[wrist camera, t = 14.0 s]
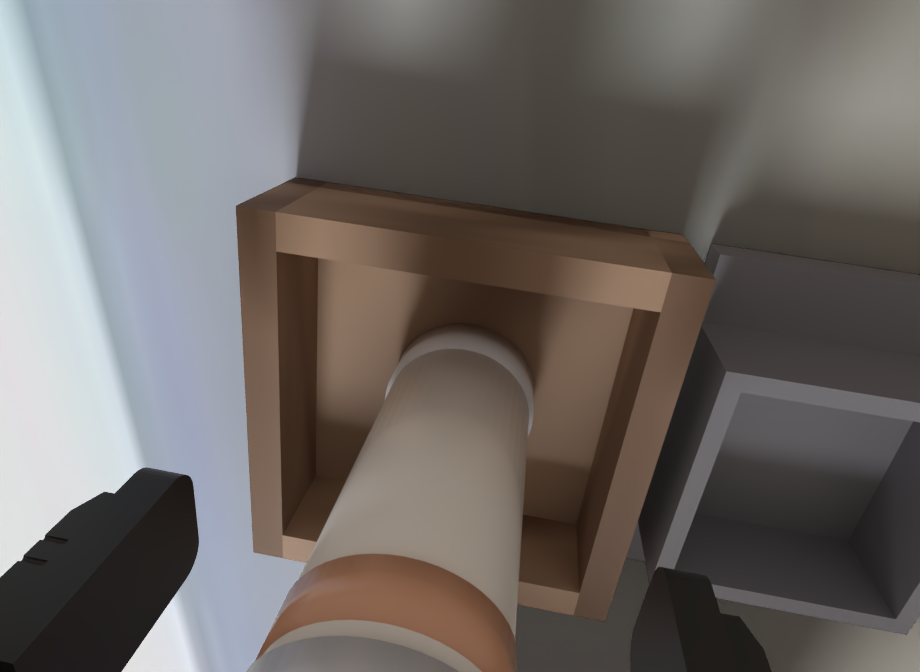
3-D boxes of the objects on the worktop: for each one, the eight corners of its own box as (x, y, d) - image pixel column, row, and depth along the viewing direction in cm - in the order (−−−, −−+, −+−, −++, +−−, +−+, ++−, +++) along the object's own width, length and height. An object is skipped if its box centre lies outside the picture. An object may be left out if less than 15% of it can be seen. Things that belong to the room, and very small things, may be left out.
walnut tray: (684, 235, 14) (716, 279, 11) (596, 535, 18) (605, 621, 15) (295, 177, 14) (235, 205, 12) (297, 479, 18) (253, 551, 16)
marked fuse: (545, 336, 14) (537, 792, 6) (522, 455, 16) (485, 960, 7) (401, 312, 15) (168, 712, 6) (392, 431, 16) (198, 890, 7)
